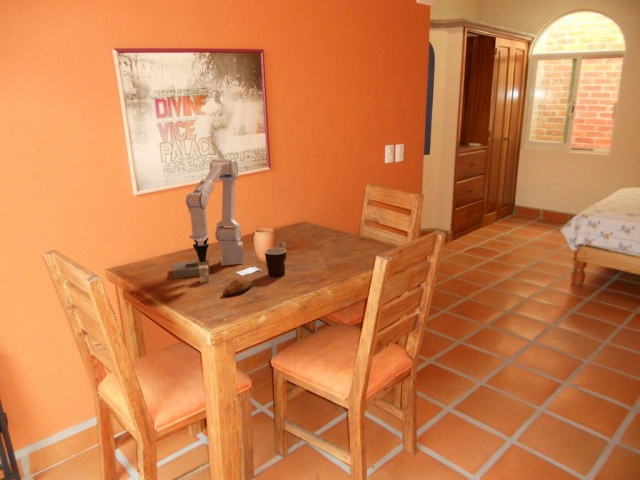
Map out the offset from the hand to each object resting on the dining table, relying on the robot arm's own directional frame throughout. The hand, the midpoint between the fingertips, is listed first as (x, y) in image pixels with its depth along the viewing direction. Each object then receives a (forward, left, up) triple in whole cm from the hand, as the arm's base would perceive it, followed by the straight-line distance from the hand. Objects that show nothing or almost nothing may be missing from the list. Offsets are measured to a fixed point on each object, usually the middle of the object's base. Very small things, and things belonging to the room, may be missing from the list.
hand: (202, 258), depth 184 cm
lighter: (-31, -15, -10) cm, 36 cm away
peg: (0, 0, -9) cm, 9 cm away
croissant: (-12, +14, -10) cm, 21 cm away
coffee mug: (-29, 0, -10) cm, 30 cm away
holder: (+5, -12, -9) cm, 16 cm away
